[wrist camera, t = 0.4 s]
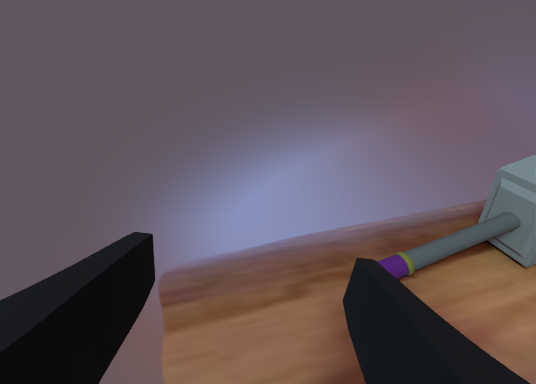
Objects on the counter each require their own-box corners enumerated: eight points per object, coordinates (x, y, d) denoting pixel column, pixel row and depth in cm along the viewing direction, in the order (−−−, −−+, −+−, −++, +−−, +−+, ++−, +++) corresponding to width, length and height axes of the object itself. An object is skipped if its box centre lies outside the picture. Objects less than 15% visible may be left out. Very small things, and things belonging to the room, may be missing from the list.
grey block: (393, 263, 25) (633, 166, 28) (350, 216, 31) (550, 141, 34) (384, 334, 34) (567, 254, 37) (352, 286, 40) (511, 221, 43)
